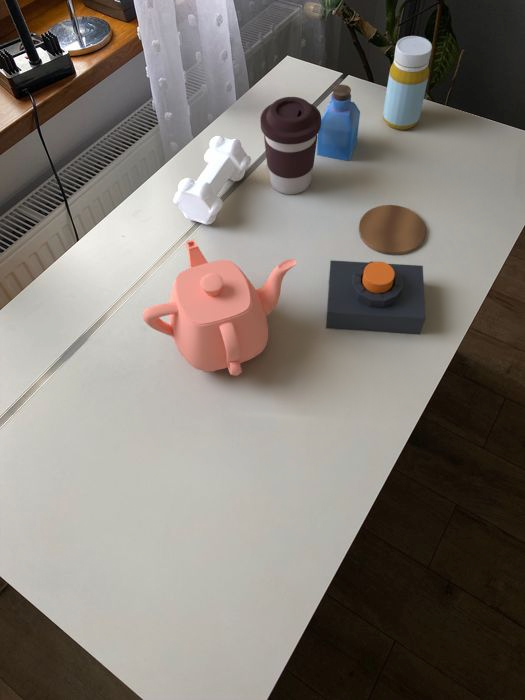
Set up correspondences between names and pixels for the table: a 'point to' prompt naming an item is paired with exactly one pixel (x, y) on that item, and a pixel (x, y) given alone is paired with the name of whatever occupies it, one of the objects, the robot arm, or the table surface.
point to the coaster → (392, 230)
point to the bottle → (407, 82)
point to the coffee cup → (290, 142)
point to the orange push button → (378, 277)
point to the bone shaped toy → (212, 180)
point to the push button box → (375, 300)
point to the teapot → (217, 312)
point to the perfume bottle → (339, 125)
